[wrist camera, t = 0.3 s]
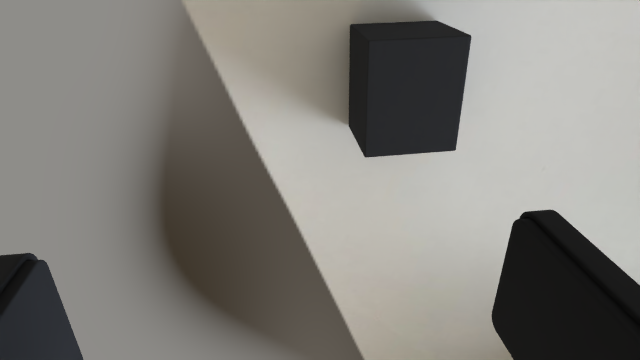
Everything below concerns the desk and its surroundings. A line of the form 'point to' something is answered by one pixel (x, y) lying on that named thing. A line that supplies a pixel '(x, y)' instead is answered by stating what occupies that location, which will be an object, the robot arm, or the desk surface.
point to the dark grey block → (406, 86)
